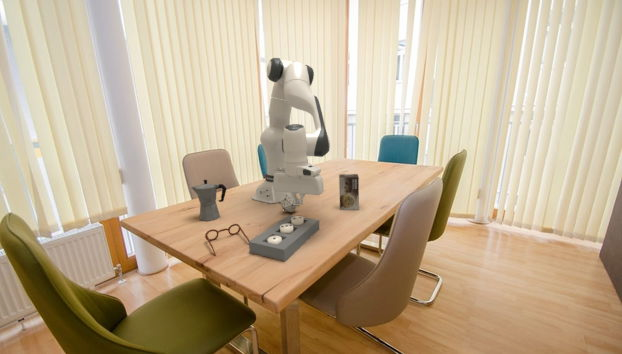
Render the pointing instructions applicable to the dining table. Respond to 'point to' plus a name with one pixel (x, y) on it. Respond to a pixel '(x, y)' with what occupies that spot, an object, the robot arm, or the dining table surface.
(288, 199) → the game die
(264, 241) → the button panel
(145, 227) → the dining table surface
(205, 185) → the coffeepot
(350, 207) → the coffee box
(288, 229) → the button three
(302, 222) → the button two
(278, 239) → the button one
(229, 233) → the glasses
